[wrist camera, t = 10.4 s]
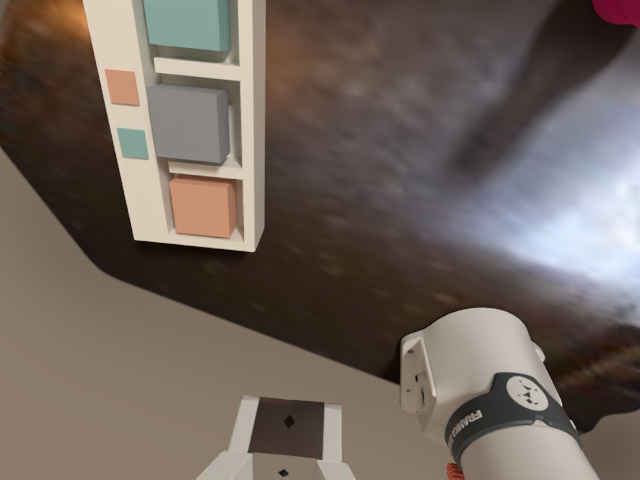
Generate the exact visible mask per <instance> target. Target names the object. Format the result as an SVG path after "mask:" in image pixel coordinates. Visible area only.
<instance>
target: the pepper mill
mask: <svg viewBox="0 0 640 480" xmlns="http://www.w3.org/2000/svg"><path fill="white" fill-rule="evenodd" d="M592 2H593V6H594V9H595V11H596V13H597V14H598V15H599V16H600V17H601V18H602V19H603V20H605V21H606V22H609V23H612V24H633V25H635V26H636V27H638V28H640V0H592Z"/></svg>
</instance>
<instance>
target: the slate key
mask: <svg viewBox="0 0 640 480" xmlns="http://www.w3.org/2000/svg"><path fill="white" fill-rule="evenodd" d="M146 90H147V96H148V102H149V109H150V115H151V122H152V128H153V135H154V141H155V147H156V154H157V157H167V158H177V159H186V160H196V161H206V162H216V163H221V162H222V161H223V160H224V159H225V158H226V157H227V155H228V154H229V153H230V132H229V110H228V90H227V89H218V88H208V87H198V86H188V85H179V84H169V83H162V84H158V85H154V86H150V87H146Z"/></svg>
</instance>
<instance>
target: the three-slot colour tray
mask: <svg viewBox="0 0 640 480" xmlns="http://www.w3.org/2000/svg"><path fill="white" fill-rule="evenodd" d="M83 4H84V8H85V13H86V17H87V22H88V27H89V31H90V36H91V40H92V45H93V50H94V54H95V59H96V64H97V68H98V73H99V77H100V82H101V87H102V91H103V96H104V101H105V105H106V110H107V114H108V119H109V124H110V128H111V133H112V137H113V142H114V147H115V151H116V156H117V161H118V165H119V170H120V174H121V179H122V184H123V188H124V193H125V197H126V202H127V207H128V211H129V216H130V221H131V225H132V230H133V234H134V239H135V240H141V241H151V242H161V243H171V244H181V245H191V246H200V247H210V248H220V249H230V250H240V251H249V252H255V250H256V248H257V245H258V242H259V240H260V237H261V235H262V232H263V230H264V186H265V39H266V0H229V7H230V33H231V50H225V51H214V50H205V49H195V48H185V47H176V46H166V45H156V44H150V43H149V36H148V29H147V22H146V15H145V8H144V1H143V0H83ZM162 83H169V84H179V85H188V86H198V87H208V88H218V89H227V90H228V110H229V132H230V153H229V154H228V155H227V157H226V158H225V159H224V160H223V161H222V162H221V163H216V162H206V161H196V160H186V159H177V158H167V157H157V154H156V147H155V141H154V135H153V128H152V122H151V115H150V109H149V102H148V96H147V90H146V87H150V86H154V85H158V84H162ZM180 173H181V174H191V175H201V176H211V177H221V178H230V179H236V192H237V218H238V224H237V226H236V228H235V229H234V231H233V233H232V235H231V237H230V238H225V237H215V236H205V235H196V234H186V233H177V232H176V225H175V218H174V211H173V204H172V197H171V190H170V183H169V182H170V181H171V180H173V179H174V178H175V177H176V176H177V175H178V174H180Z"/></svg>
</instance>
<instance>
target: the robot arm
mask: <svg viewBox="0 0 640 480" xmlns="http://www.w3.org/2000/svg"><path fill="white" fill-rule="evenodd" d="M544 359H545V356H544V354H543V352H542V350H541V349H540V347H538V346H537V345H536V344H535V343H533V342H532V341H531V339H530V337H529V334H528V331H527V329H526V327H525V325H524V324H523V323H522V322H521V321H520V320H519V319H518V318H517V317H515V316H514V315H512V314H510V313H508V312H505V311H502V310H498V309H492V308H471V309H465V310H460V311H457V312H454V313H451V314H448V315H446V316H444V317H442V318H440V319H438V320H437V321H435V322H434V323H433V324H431V325H430V326H428V327H427V328H425V329H424V330H421V331H418V332H415V333H412V334H409V335H407V336H405V337H403V338H402V340H401V358H400V405H401V408H402V410H404V411H405V412H407V413H409V414H411V415H414V416H417V417H419V421H420V424H421V428H422V431H423V433H424V434H425V435H426V437H428V438H429V439H431V440H433V441H435V442H437V443H440V444H442V445H444V446H447V447H448V448H449V452H450V454H451V456H453V458H454V460H455V462H456V464H454V463H448V465H447V474H448V478H449V480H599V478H598V476H597V475H596V473H595V471H594V470H593V468H592V467H591V465H590V463H589V462H588V460H587V458H586V457H585V455H584V453H583V452H582V442H581V439H580V438H579V436H578V434H577V431H576V430H575V429H576V428H575V426H574V424H573V423H572V421H571V420H570V419H569V418H568V416H567V414H566V413H565V411H564V409H563V408H562V403H561V400H560V398H559V396H558V394H557V391H556V389H555V387H554V385H553V383H552V381H551V379H550V377H549V375H548V373H547V371H546V369H545V367H544V365H543V363H542V362H543V361H544ZM341 410H342V409H341V405H340V404H330V403H323V402H311V401H299V400H285V399H276V398H267V397H259V396H249V395H244V396H243V398H242V400H241V403H240V407H239V411H238V414H237V418H236V422H235V425H234V429H233V433H232V436H231V440H230V444H229V447H228V451H224V450H223V451H222V452H221V453H220V454H219V455H218V456H217V457H216V458H215V459H214V460H213V461H212V462H211V463H210V464H209V465H208V466H207V468H206V469H205V470H204V471H203V472H202V473H201V474H200V475H199V476H198V477H197V478H196V480H356V478H355V477H354V475H353V473H352V471H351V469H350V467H349V466H348V464H347V463H344V462H342V412H341Z"/></svg>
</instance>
